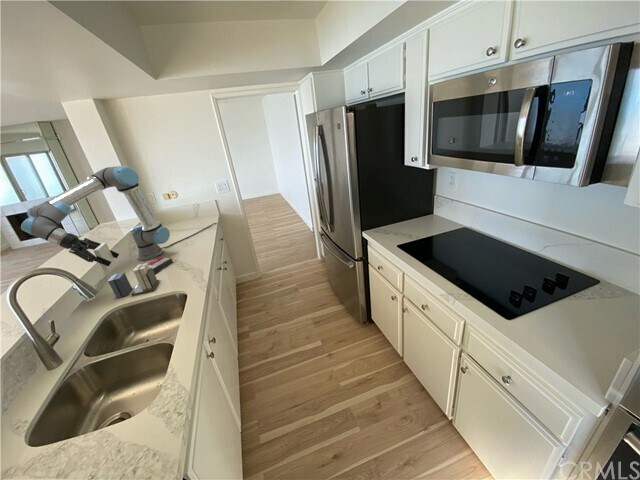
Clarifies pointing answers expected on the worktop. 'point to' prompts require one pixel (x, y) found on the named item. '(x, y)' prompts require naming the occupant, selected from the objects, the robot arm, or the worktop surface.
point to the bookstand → (145, 279)
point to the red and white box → (159, 264)
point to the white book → (105, 256)
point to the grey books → (120, 285)
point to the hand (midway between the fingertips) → (114, 260)
